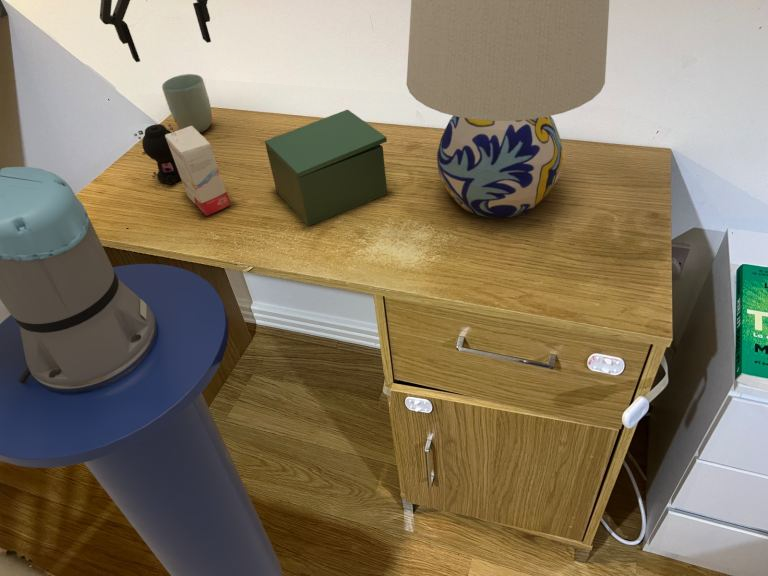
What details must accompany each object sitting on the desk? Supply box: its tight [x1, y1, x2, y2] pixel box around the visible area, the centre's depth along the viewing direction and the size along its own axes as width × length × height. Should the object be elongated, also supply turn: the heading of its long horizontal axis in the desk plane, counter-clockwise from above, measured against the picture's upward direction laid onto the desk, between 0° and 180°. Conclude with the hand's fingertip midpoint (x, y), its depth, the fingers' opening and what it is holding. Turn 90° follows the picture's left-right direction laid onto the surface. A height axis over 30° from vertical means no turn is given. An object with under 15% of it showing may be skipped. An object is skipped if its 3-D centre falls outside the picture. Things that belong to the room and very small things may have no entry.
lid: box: [264, 109, 388, 177], centre depth 93 cm, size 15×13×1 cm
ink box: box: [165, 126, 232, 216], centre depth 97 cm, size 9×5×12 cm, turn 35°
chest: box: [265, 144, 388, 227], centre depth 96 cm, size 15×13×9 cm
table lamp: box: [406, 0, 610, 219], centre depth 82 cm, size 27×27×40 cm
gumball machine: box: [133, 123, 181, 187], centre depth 104 cm, size 7×6×10 cm
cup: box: [161, 73, 213, 134], centre depth 118 cm, size 8×8×10 cm
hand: (172, 50), depth 111 cm, fingers open, 13 cm apart
